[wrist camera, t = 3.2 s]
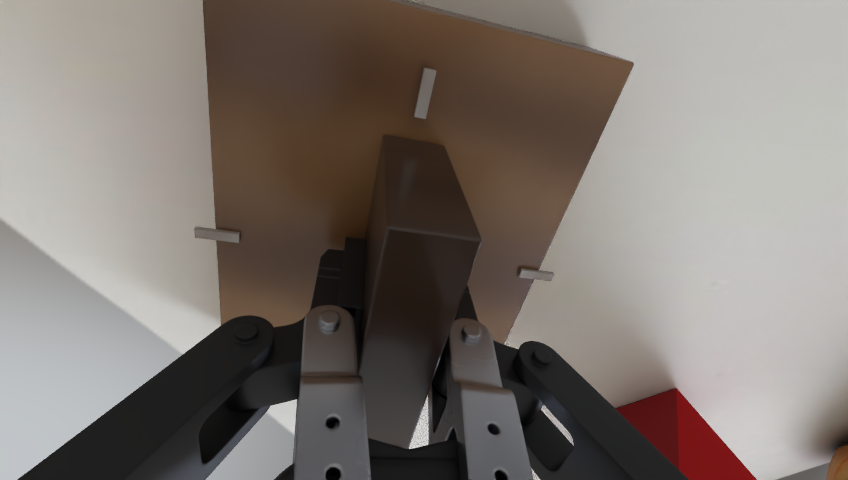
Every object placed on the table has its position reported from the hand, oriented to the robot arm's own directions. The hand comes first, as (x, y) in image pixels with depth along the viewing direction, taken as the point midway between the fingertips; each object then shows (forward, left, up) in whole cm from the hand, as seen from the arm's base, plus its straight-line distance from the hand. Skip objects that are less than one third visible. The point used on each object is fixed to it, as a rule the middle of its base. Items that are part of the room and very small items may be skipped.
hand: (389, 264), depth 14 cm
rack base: (0, 0, -4) cm, 4 cm away
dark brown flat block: (0, 0, -1) cm, 1 cm away
